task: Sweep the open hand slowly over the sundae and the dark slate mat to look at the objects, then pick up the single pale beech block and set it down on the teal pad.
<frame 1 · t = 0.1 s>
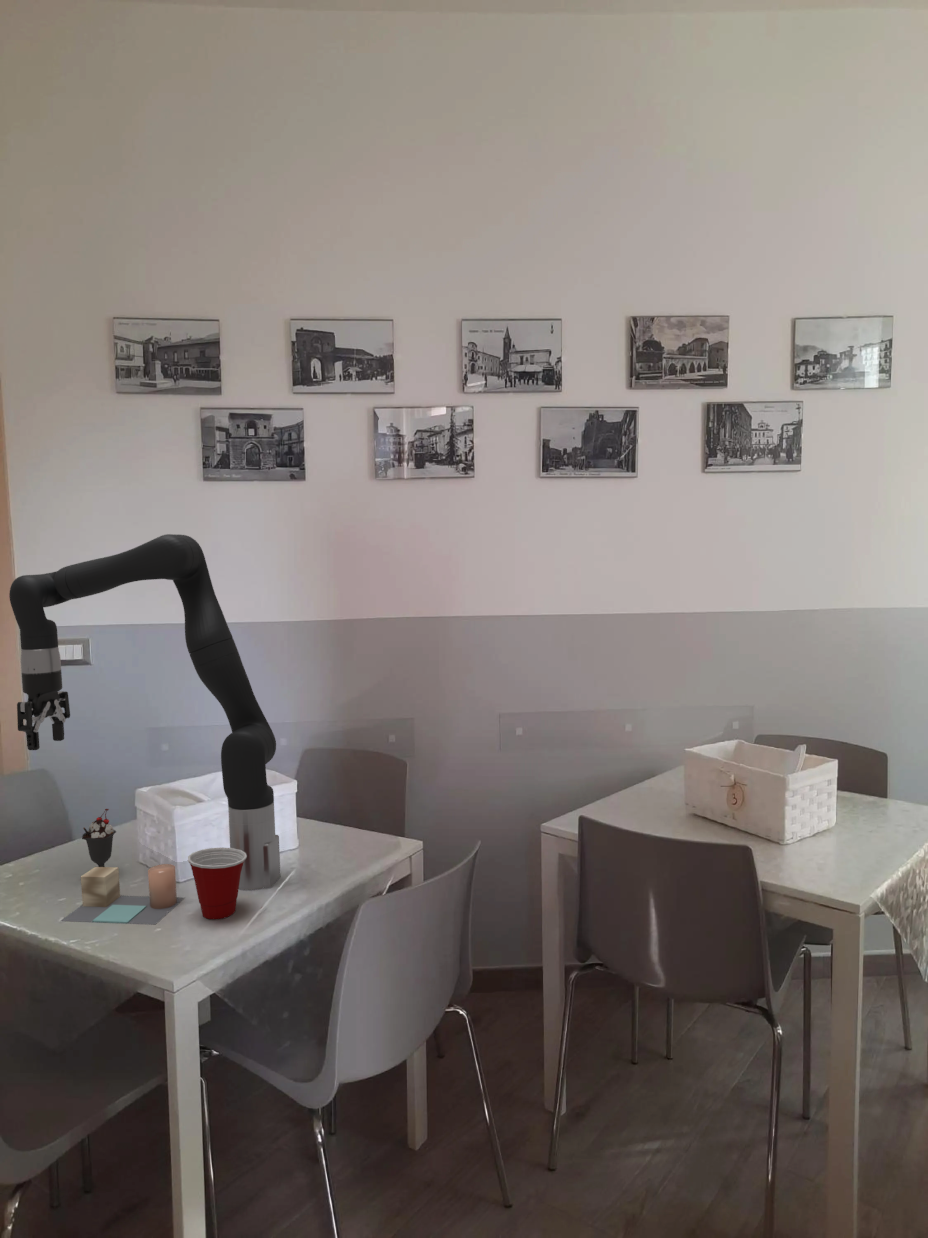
hand: (46, 745, 178), 29 cm above the table, tool pointing down, fingers open, 8 cm apart
plastic cup: (220, 916, 160), on the table
sundae: (102, 880, 179), on the table
terracotta cylinder: (163, 903, 165), point 1 cm above the table, touching slate mat
beech block: (101, 901, 166), point 1 cm above the table, touching slate mat
slate mat: (124, 912, 163), on the table
teal pad: (120, 917, 160), resting on slate mat
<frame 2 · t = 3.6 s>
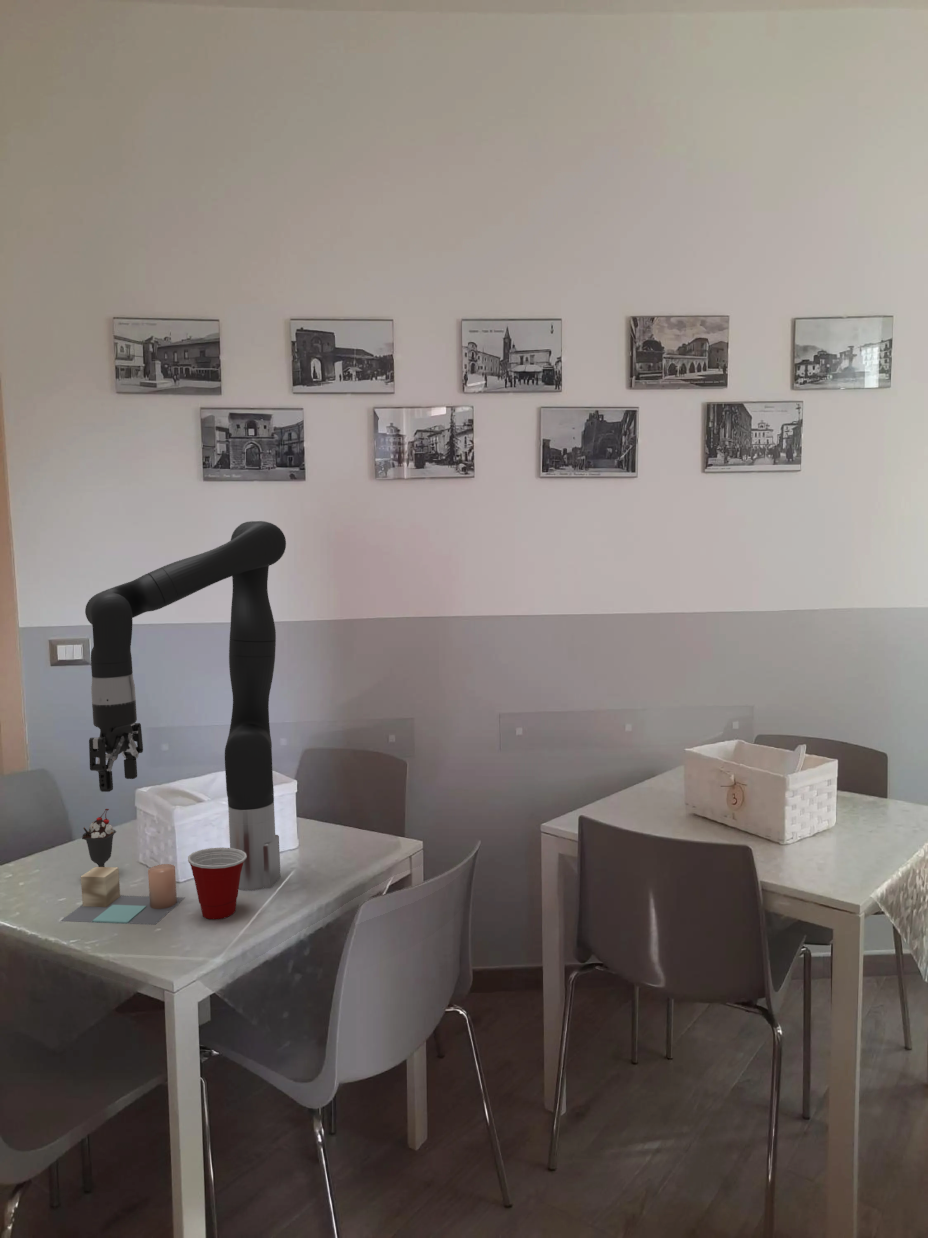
hand: (119, 784, 157), 26 cm above the table, tool pointing down, fingers open, 8 cm apart
nothing on the table moved.
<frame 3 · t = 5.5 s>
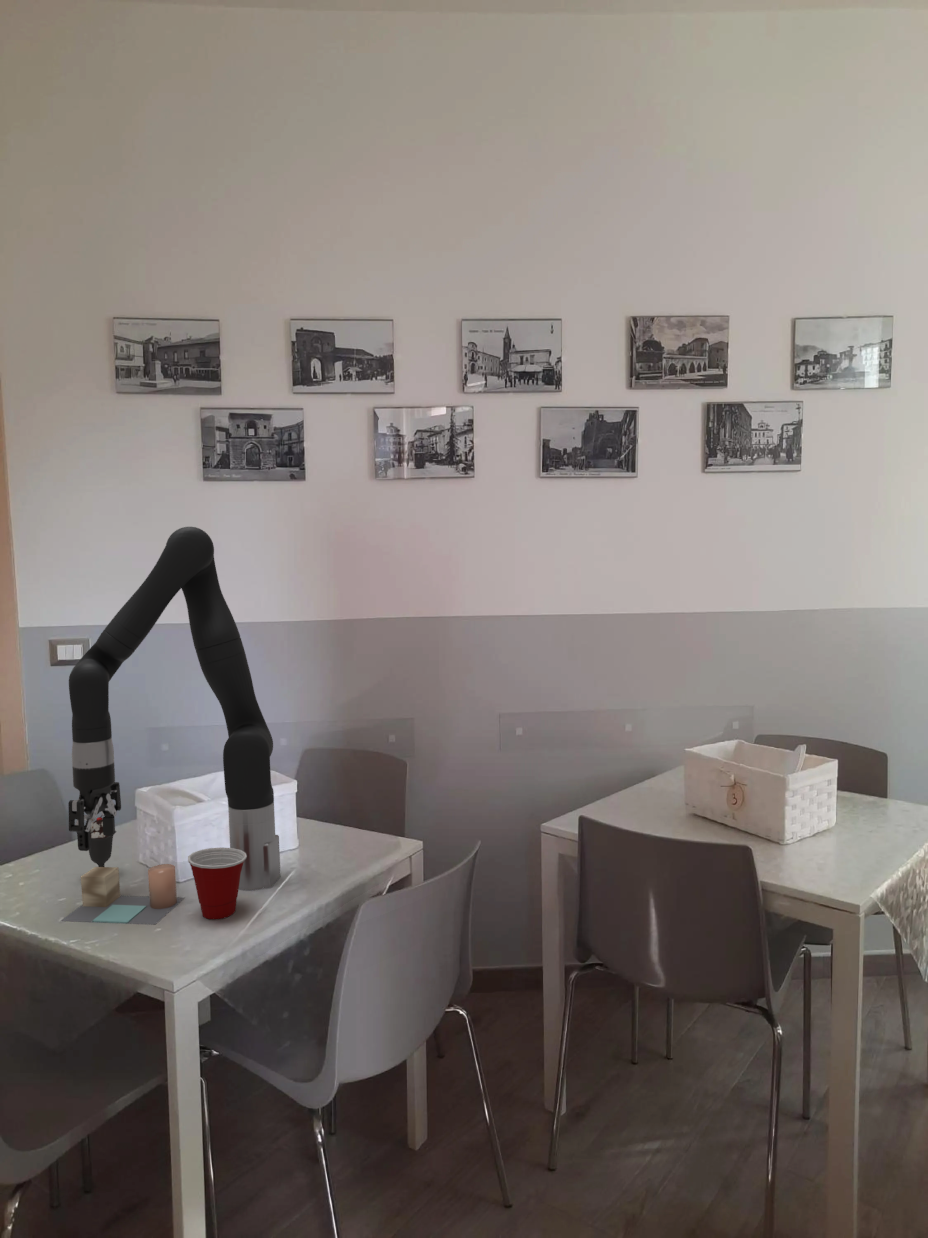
hand: (97, 842, 165), 13 cm above the table, tool pointing down, fingers open, 8 cm apart
nothing on the table moved.
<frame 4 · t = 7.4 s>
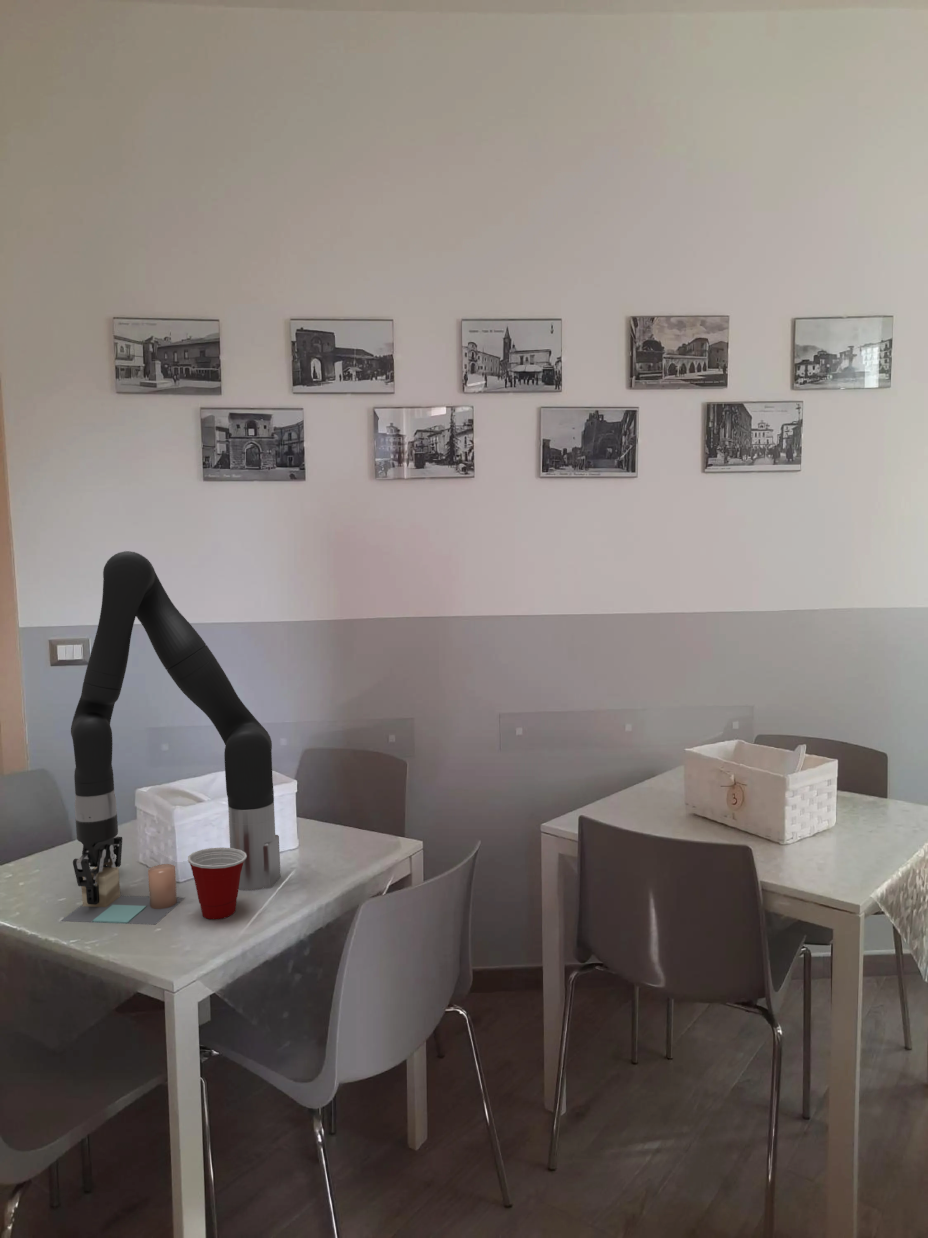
hand: (101, 897, 166), 1 cm above the table, tool pointing down, fingers closed on beech block, 5 cm apart
beech block: (101, 901, 166), point 1 cm above the table, touching gripper, slate mat
everything else where it was.
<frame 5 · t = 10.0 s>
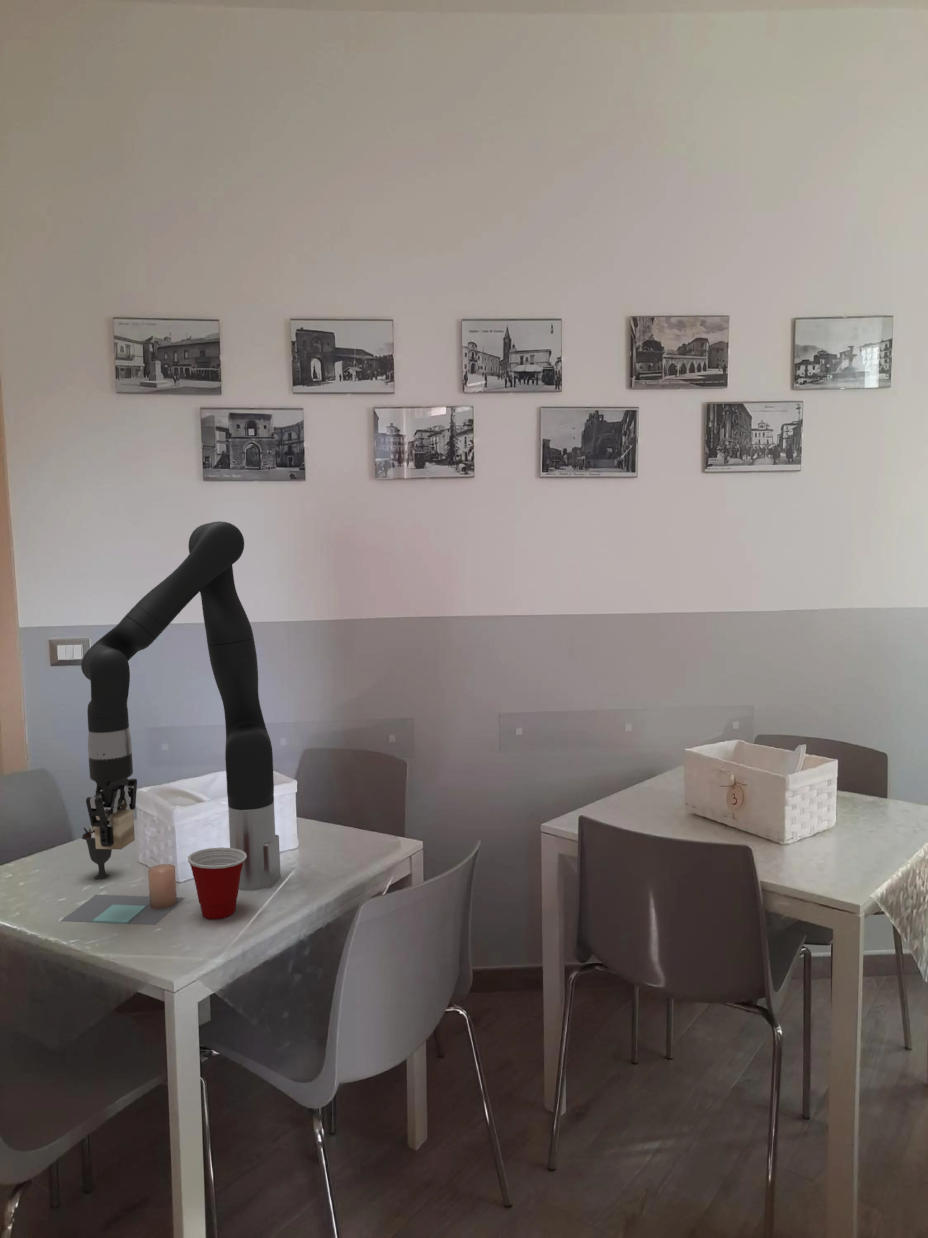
hand: (115, 840, 159), 15 cm above the table, tool pointing down, fingers closed on beech block, 5 cm apart
beech block: (115, 844, 159), point 14 cm above the table, touching gripper
everything else where it was.
when the fingers open (3 cm above the table, at t = 13.0 s): beech block drops 1 cm, resting on teal pad.
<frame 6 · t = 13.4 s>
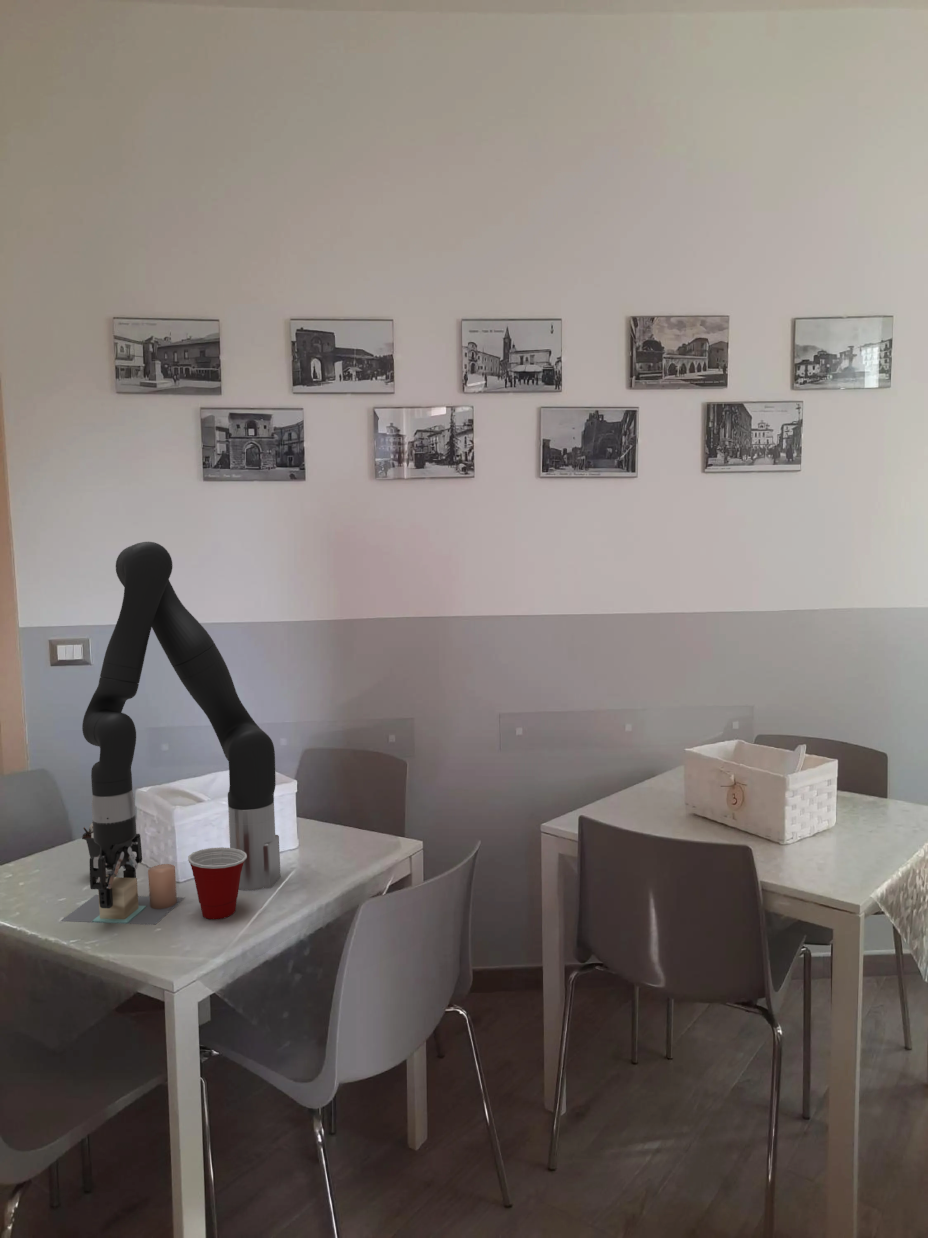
hand: (118, 898, 160), 4 cm above the table, tool pointing down, fingers open, 8 cm apart
beech block: (119, 913, 160), point 1 cm above the table, touching teal pad
everything else where it was.
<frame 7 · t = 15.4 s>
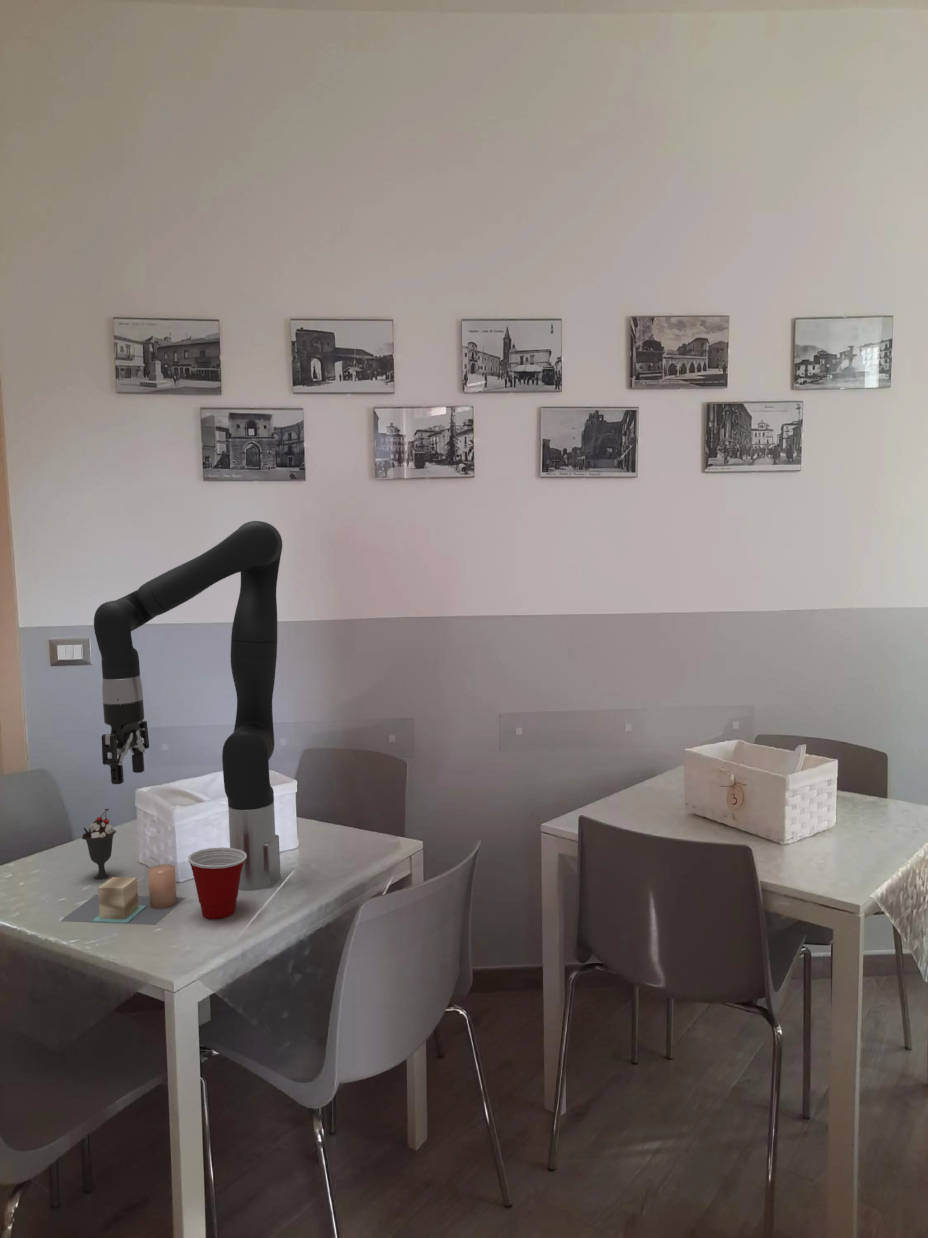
hand: (128, 777, 170), 24 cm above the table, tool pointing down, fingers open, 8 cm apart
nothing on the table moved.
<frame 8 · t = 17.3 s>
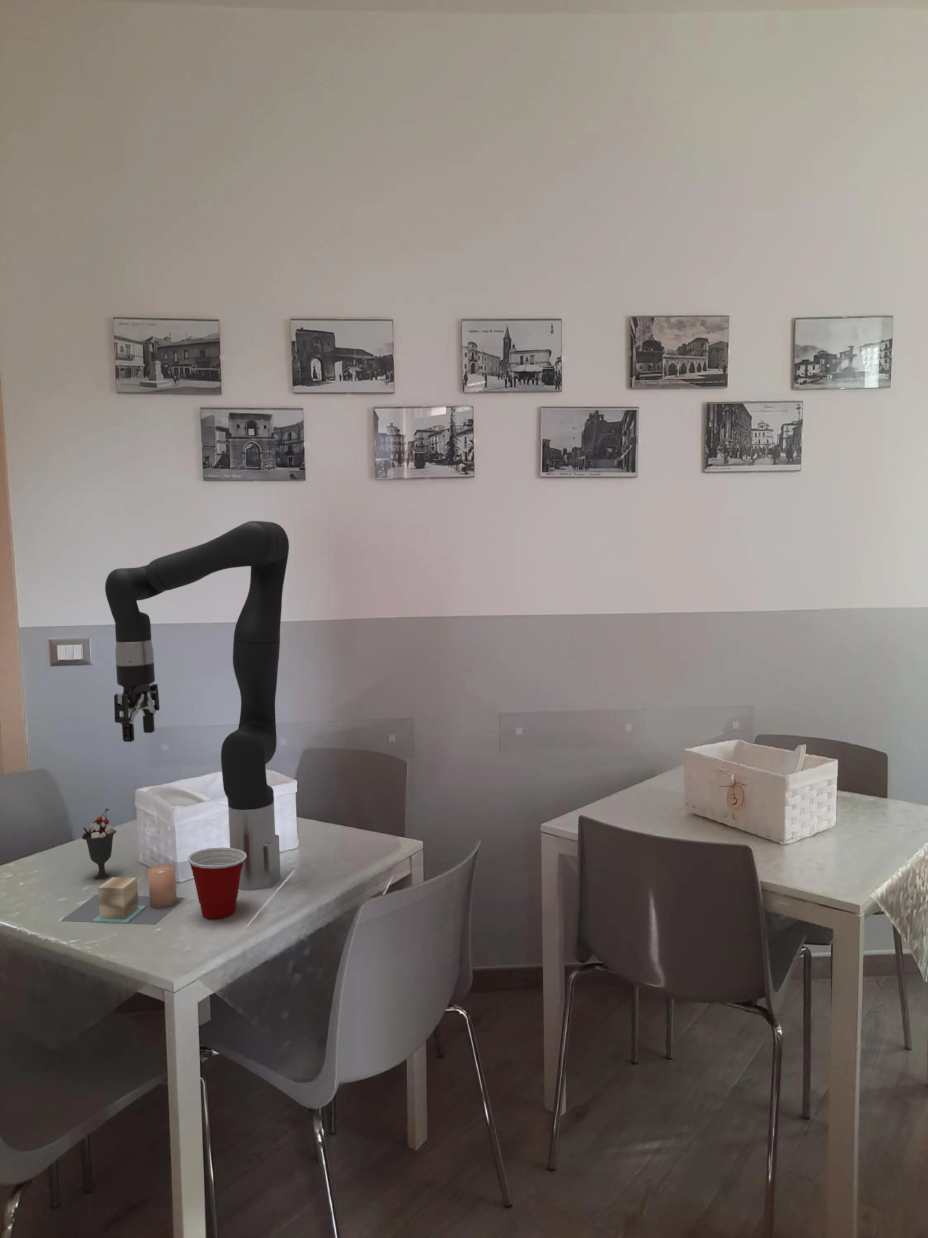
hand: (139, 736, 179), 30 cm above the table, tool pointing down, fingers open, 8 cm apart
nothing on the table moved.
at the end: beech block 0.1 cm off-centre on the teal pad, point 0.9 cm above the teal pad's base; beech block tilted 0°; the gripper is holding nothing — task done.
